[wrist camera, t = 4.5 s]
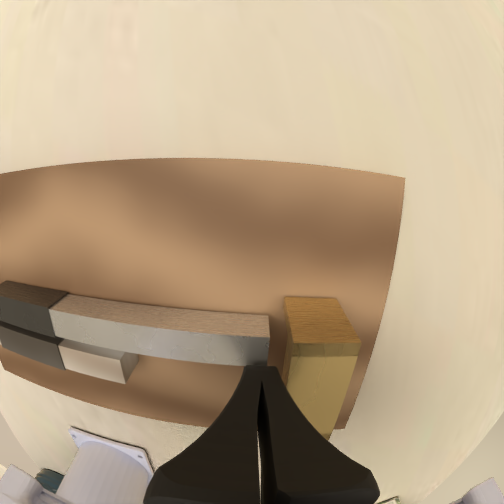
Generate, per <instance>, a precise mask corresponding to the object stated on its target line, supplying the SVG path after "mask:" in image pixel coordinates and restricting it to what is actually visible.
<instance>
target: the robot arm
mask: <svg viewBox="0 0 504 504" xmlns="http://www.w3.org/2000/svg"><path fill="white" fill-rule="evenodd" d="M257 427H258V438H259V448H260V458H261V499H260V485H259V467H258V438H257ZM68 431H69V433H70V435H71V437H72V438H73V440H74V442H75V444H76V445H77V447H78V449H79V450H78V452H77V454H76V455H75V457H74V459H73V461H72V463H71V465H70V467H69V469H68V471H67V472H66V474H65V476H64V478H63V480H62V482H61V484H60V486H59V488H58V490H57V492H56V494H54V493H52V492H50V491H48V490H46V489H44V488H43V487H42V485H41V484H40V483H39V482H38V481H37V480H36V479H35V478H33V477H32V476H31V475H29V474H27V473H26V472H24V471H22V470H21V469H19V468H18V467H16V466H14V465H13V464H10V466H9V467H8V469H7V470H6V472H5V474H4V475H3V477H2V478H1V480H0V504H374V503H375V502H376V500H377V499H378V497H379V496H380V491H379V488H378V485H377V482H376V480H375V478H374V476H373V474H372V472H371V471H370V470H369V469H367V468H366V467H364V466H362V465H360V464H359V463H357V462H355V461H353V460H352V459H350V458H349V457H347V456H346V455H345V454H343V453H342V452H340V451H339V450H338V449H337V448H336V447H334V446H333V445H332V444H331V443H330V442H329V441H327V440H326V439H325V438H324V437H323V436H322V435H321V434H320V433H319V432H318V431H317V430H316V429H315V428H314V427H313V425H312V424H311V423H310V422H309V421H308V420H307V418H306V417H305V416H304V415H303V413H302V412H301V410H300V409H299V408H298V406H297V405H296V403H295V402H294V400H293V398H292V397H291V395H290V394H289V392H288V390H287V388H286V386H285V384H284V382H283V380H282V378H281V376H280V374H279V371H278V368H277V367H276V366H256V365H246V366H245V367H244V369H243V373H242V376H241V379H240V381H239V383H238V385H237V387H236V389H235V391H234V393H233V395H232V397H231V398H230V400H229V401H228V403H227V404H226V406H225V407H224V409H223V410H222V412H221V413H220V414H219V416H218V417H217V418H216V420H215V421H214V422H213V423H212V424H211V426H210V427H209V428H208V429H207V430H206V431H205V432H204V433H203V434H202V435H201V436H200V437H199V438H198V439H197V440H196V441H195V442H193V443H192V444H191V445H190V446H189V447H187V448H186V449H185V450H184V451H183V452H181V453H180V454H179V455H177V456H176V457H174V458H173V459H171V460H170V461H168V462H166V463H165V464H163V465H162V466H160V467H159V468H158V469H157V471H156V472H155V474H154V473H153V470H152V468H151V465H150V463H149V460H148V458H147V455H146V452H145V451H144V450H143V449H141V448H137V447H133V446H129V445H125V444H122V443H118V442H115V441H111V440H108V439H105V438H101V437H98V436H95V435H92V434H89V433H86V432H83V431H81V430H78V429H75V428H72V427H70V428H69V430H68ZM450 504H504V497H503V495H502V493H501V491H500V489H499V487H498V485H497V484H496V482H495V480H494V478H493V477H491V478H489V479H487V480H486V481H484V482H482V483H480V484H479V485H477V486H475V487H473V488H472V489H470V490H469V491H468V492H467V493H466V494H465V495H464V496H463V497H462V498H460V499H458V500H456V501H454V502H452V503H450Z"/></svg>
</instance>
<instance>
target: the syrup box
mask: <svg viewBox="0 0 504 504" xmlns="http://www.w3.org/2000/svg"><path fill="white" fill-rule="evenodd" d="M379 504H401V502H400V499H399V497H395V498H392V499H390V500H387V501H384V502H381V503H379Z"/></svg>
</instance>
